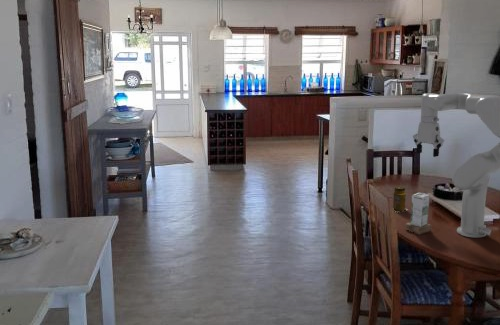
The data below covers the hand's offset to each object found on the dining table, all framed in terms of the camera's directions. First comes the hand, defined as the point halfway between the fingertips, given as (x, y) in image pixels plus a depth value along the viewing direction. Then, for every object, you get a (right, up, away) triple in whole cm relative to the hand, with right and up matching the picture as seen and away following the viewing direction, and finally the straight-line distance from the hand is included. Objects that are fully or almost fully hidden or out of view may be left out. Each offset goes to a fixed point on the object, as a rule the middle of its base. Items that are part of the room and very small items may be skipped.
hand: (427, 154), depth 246 cm
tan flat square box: (-7, -35, -8) cm, 37 cm away
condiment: (-8, -29, +21) cm, 37 cm away
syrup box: (-7, -33, -9) cm, 35 cm away
